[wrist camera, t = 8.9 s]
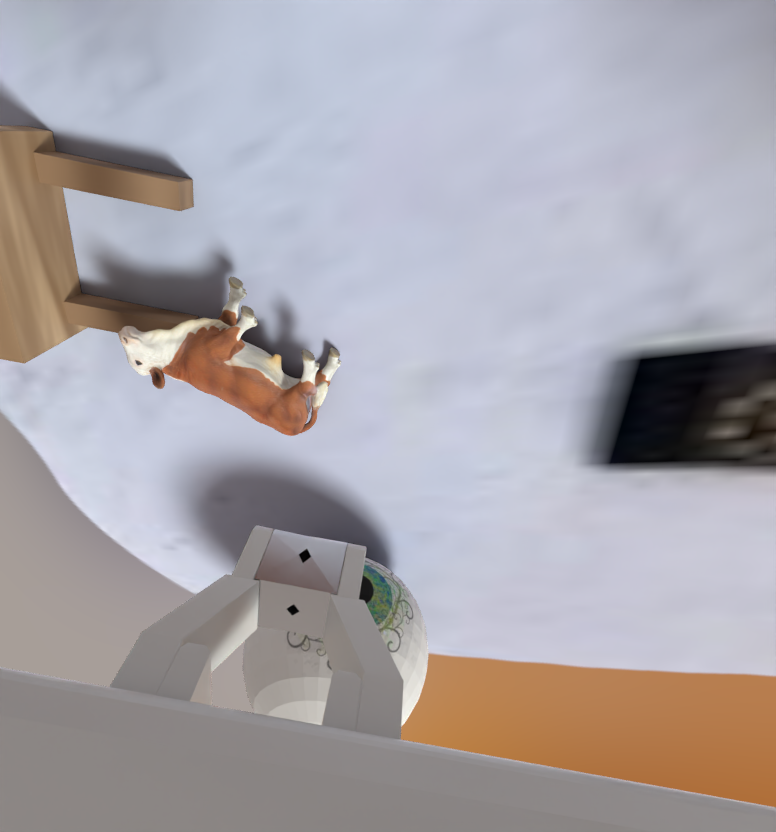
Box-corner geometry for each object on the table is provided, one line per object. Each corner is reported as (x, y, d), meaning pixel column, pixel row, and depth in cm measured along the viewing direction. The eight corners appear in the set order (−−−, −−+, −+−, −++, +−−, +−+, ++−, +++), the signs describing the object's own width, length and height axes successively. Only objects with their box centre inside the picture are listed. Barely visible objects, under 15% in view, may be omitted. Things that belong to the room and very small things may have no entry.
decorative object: (455, 549, 41) (467, 733, 29) (393, 637, 49) (381, 813, 36) (297, 495, 39) (234, 668, 27) (258, 595, 47) (195, 767, 34)
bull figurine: (157, 266, 23) (94, 371, 27) (360, 391, 30) (289, 462, 34) (177, 236, 27) (118, 333, 30) (355, 355, 33) (291, 423, 37)
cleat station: (191, 160, 26) (135, 166, 21) (199, 349, 33) (157, 388, 28) (25, 125, 26) (-72, 123, 21) (66, 323, 32) (-1, 358, 27)
